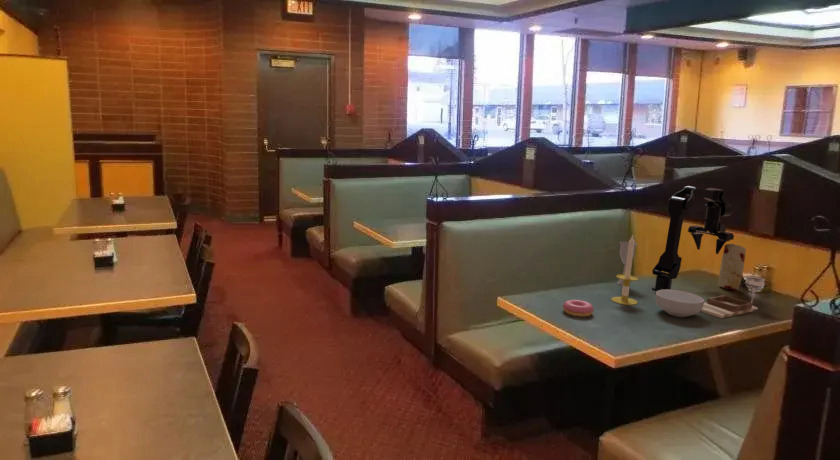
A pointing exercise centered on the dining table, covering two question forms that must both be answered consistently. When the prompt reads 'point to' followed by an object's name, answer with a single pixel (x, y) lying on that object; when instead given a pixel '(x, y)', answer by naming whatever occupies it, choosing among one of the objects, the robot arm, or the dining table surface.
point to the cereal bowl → (679, 302)
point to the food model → (732, 266)
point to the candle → (627, 278)
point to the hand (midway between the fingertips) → (707, 251)
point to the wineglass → (754, 285)
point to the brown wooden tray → (726, 306)
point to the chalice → (624, 256)
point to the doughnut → (578, 308)
